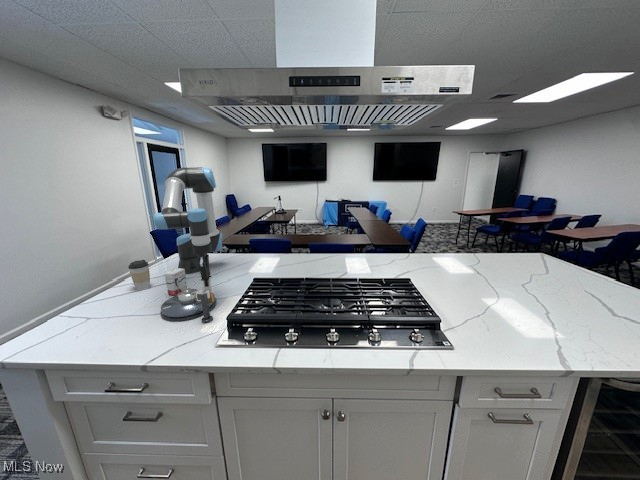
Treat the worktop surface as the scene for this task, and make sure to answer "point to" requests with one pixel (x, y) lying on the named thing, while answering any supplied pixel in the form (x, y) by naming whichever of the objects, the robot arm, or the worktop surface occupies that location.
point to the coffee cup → (140, 274)
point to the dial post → (204, 304)
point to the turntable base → (187, 317)
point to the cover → (187, 296)
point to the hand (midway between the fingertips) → (208, 291)
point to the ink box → (176, 281)
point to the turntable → (183, 307)
